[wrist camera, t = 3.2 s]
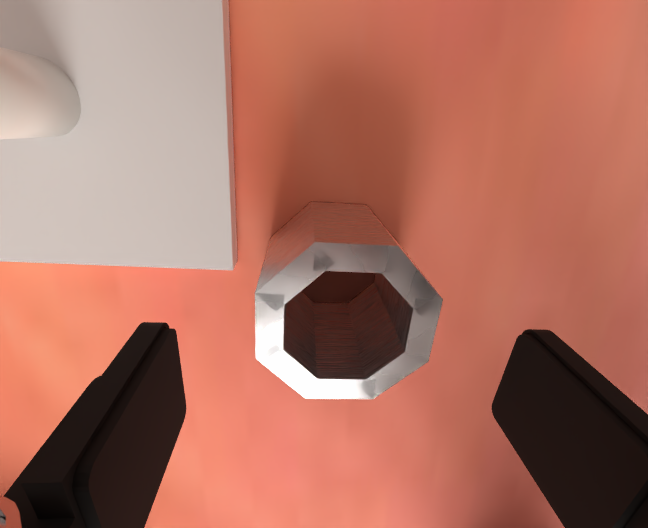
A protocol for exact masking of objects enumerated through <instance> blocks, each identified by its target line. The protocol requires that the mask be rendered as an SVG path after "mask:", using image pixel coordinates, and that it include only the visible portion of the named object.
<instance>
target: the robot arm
mask: <svg viewBox="0 0 648 528" xmlns="http://www.w3.org/2000/svg"><path fill="white" fill-rule="evenodd" d="M492 413H493V416H494V418H495V419H496V421H497V423H498V424H499V426H500V427H501V429H502V430H503V432H504V433H505V435H506V437H507V438H508V440H509V441H510V443H511V444H512V446H513V448H514V449H515V451H516V452H517V454H518V455H519V457H520V458H521V460H522V462H523V463H524V465H525V466H526V468H527V469H528V471H529V472H530V474H531V476H532V477H533V479H534V480H535V482H536V483H537V485H538V487H539V488H540V490H541V491H542V493H543V494H544V496H545V497H546V499H547V501H548V502H549V504H550V505H551V507H552V508H553V510H554V512H555V513H556V515H557V516H558V518H559V519H560V521H561V522H562V524H563V526H564V527H565V528H648V414H647V413H645V412H644V411H643V410H642V409H641V408H640V407H638V406H637V405H636V404H635V403H634V402H633V401H632V400H630V399H629V398H628V397H627V396H626V395H625V394H623V393H622V392H621V391H620V390H619V389H618V388H617V387H615V386H614V385H613V384H612V383H611V382H610V381H608V380H607V379H606V378H605V377H604V376H603V375H602V374H600V373H599V372H598V371H597V370H596V369H595V368H593V367H592V366H591V365H590V364H589V363H588V362H587V361H585V360H584V359H583V358H582V357H581V356H580V355H578V354H577V353H576V352H575V351H574V350H573V349H572V348H570V347H569V346H568V345H567V344H566V343H565V342H563V341H562V340H561V339H560V338H559V337H558V336H557V335H555V334H554V333H553V332H551V331H550V330H532V329H528V330H525V331H524V332H523V333H522V335H519V336H518V338H517V339H516V342H515V345H514V347H513V350H512V353H511V355H510V358H509V361H508V363H507V366H506V369H505V371H504V374H503V376H502V379H501V382H500V384H499V387H498V390H497V392H496V395H495V398H494V400H493V403H492ZM185 414H186V400H185V393H184V386H183V378H182V371H181V364H180V356H179V349H178V342H177V334H176V330H175V329H169V326H168V324H167V323H150V322H143V323H141V324H140V325H139V326H138V328H137V329H136V330H135V332H134V333H133V334H132V336H131V337H130V338H129V340H128V341H127V342H126V344H125V345H124V346H123V348H122V349H121V350H120V352H119V353H118V354H117V356H116V357H115V358H114V360H113V361H112V362H111V364H110V365H109V366H108V368H107V369H106V370H105V372H104V373H103V374H102V376H99V377H97V378H95V379H94V380H93V381H92V382H91V383H90V384H89V386H88V387H87V388H86V390H85V391H84V392H83V393H82V395H81V396H80V397H79V399H78V400H77V401H76V403H75V404H74V405H73V407H72V408H71V409H70V410H69V412H68V413H67V414H66V416H65V417H64V418H63V420H62V421H61V422H60V423H59V425H58V426H57V427H56V429H55V430H54V431H53V433H52V434H51V435H50V436H49V438H48V439H47V440H46V442H45V443H44V444H43V446H42V447H41V448H40V450H39V451H38V452H37V453H36V455H35V456H34V457H33V459H32V460H31V461H30V463H29V464H28V465H27V466H26V468H25V469H24V470H23V472H22V473H21V474H20V476H19V477H18V478H17V479H16V481H15V482H14V483H13V485H12V486H11V487H10V489H9V490H8V491H7V493H6V494H5V495H4V496H3V497H0V528H144V527H145V524H146V521H147V519H148V516H149V513H150V511H151V508H152V505H153V502H154V500H155V497H156V494H157V492H158V489H159V486H160V484H161V481H162V478H163V476H164V473H165V470H166V467H167V465H168V462H169V459H170V457H171V454H172V451H173V449H174V446H175V443H176V441H177V438H178V435H179V432H180V430H181V427H182V424H183V422H184V419H185Z"/></svg>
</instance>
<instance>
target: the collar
mask: <svg viewBox="0 0 648 528" xmlns="http://www.w3.org/2000/svg"><path fill="white" fill-rule="evenodd" d="M325 271H340V272H365V273H375V279H374V283H373V284H372V285H370V286H369V287H368V288H366V289H365V290H364V291H362V292H361V293H360V294H359V295H357V296H356V297H355V298H353V299H352V300H351V301H350V302H348V303H321V302H312V301H311V300H310V299H309V298H308V297H307V296H306V295H305V294H304V293H303V292H302V290H303V289H304V288H305V287H307V286H308V285H309V284H310V283H312V282H313V281H314V280H315V279H316V278H318V277H319V276H320V275H321V274H323V273H324V272H325ZM442 301H443V299H442V298H441V296H440V295H439V294H438V293H437V291H436V290H435V289H434V288H433V286H432V285H431V284H430V283H429V281H428V280H427V279H426V277H425V276H424V275H423V274H422V272H421V271H420V270H419V269H418V267H417V266H416V265H415V264H414V262H413V261H412V260H411V258H410V257H409V256H408V255H407V253H406V252H405V251H404V250H403V248H402V247H401V246H400V245H399V243H398V242H397V241H396V240H395V239H394V237H393V236H392V235H391V234H390V232H389V231H388V230H387V229H386V228H385V226H384V225H383V224H382V223H381V222H380V220H379V219H378V218H377V217H376V216H375V214H374V213H373V212H372V211H371V210H370V208H369V207H368V206H367V205H364V204H346V203H328V202H310V203H309V204H308V205H307V206H306V207H304V208H303V209H302V210H301V211H300V212H299V213H298V214H297V215H295V216H294V217H293V218H292V219H291V220H290V221H289V222H288V223H286V224H285V225H284V226H283V227H282V228H281V229H280V230H279V231H277V232H276V233H275V234H274V235H273V236H272V237H271V239H270V242H269V246H268V249H267V253H266V256H265V260H264V263H263V267H262V270H261V274H260V277H259V281H258V284H257V288H256V291H255V334H256V359H257V360H258V361H260V362H261V363H262V364H263V365H265V366H266V367H267V368H268V369H270V370H271V371H272V372H273V373H274V374H276V375H277V376H278V377H279V378H281V379H282V380H283V381H284V382H286V383H287V384H288V385H289V386H291V387H292V388H293V389H294V390H295V391H297V392H298V393H299V394H300V395H302V396H303V397H304V398H305V399H374V398H375V397H377V396H378V395H380V394H381V393H383V392H384V391H386V390H387V389H389V388H390V387H392V386H393V385H395V384H396V383H397V382H399V381H400V380H402V379H403V378H405V377H406V376H408V375H409V374H411V373H412V372H414V371H415V370H417V369H418V368H420V367H421V366H423V365H424V364H425V363H427V362H428V361H429V356H430V352H431V348H432V344H433V339H434V335H435V331H436V327H437V323H438V318H439V314H440V310H441V306H442Z"/></svg>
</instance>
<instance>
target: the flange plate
mask: <svg viewBox="0 0 648 528" xmlns="http://www.w3.org/2000/svg"><path fill="white" fill-rule="evenodd" d="M0 261H8V262H33V263H59V264H84V265H110V266H135V267H161V268H187V269H212V270H233V269H234V267H235V265H236V263H237V261H238V259H237V230H236V201H235V172H234V143H233V114H232V84H231V55H230V26H229V0H0Z"/></svg>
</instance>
